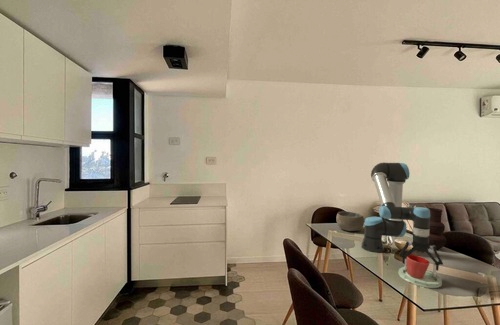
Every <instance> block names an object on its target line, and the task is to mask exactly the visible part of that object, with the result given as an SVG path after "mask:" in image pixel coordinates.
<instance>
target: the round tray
mask: <svg viewBox="0 0 500 325" xmlns="http://www.w3.org/2000/svg"><path fill="white" fill-rule="evenodd" d="M404 267H405V266H402V267H400V268H398V276H399V277H400V278H401V279H402V280H403V281H405V282H406V283H407V282H408V283H409V282H412V283H414V284H415V285H414V284H413V285H414V286H418V287H422V288H425V289H427V288H428V289H437V288H441V287H442V285H443V281H442V278H441V277H440V276H439V275H437V274H436V277H434V275H433V272H432V271H429V270H428V269H427V270H426V273H425V275H424V277H423V278H422V279H419V278H415V277H412V276H410V275H409V274H408V273H407V266H406V270H405V269H404Z"/></svg>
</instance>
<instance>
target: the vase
mask: <svg viewBox="0 0 500 325" xmlns="http://www.w3.org/2000/svg"><path fill="white" fill-rule="evenodd" d="M427 208H428V207H427ZM428 209H429V210H430V227H429V236H428V237H429V246H433V245H435V247H436V251H440V250H441V249H442V248H444V247H445V246H446V244H447V243H448V240H447V239H448V238H447V237H446V235H444V232H445V231H446V230H445V229H446V226H445V224H444V223H443V222H442V215H443V209H441V208H434V207H429V208H428ZM429 249H430V250H432V249H431V248H429ZM439 249H440V250H439Z"/></svg>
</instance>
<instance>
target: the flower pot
mask: <svg viewBox="0 0 500 325" xmlns="http://www.w3.org/2000/svg"><path fill="white" fill-rule="evenodd" d="M406 259H407V263H406V267H407V273H408V274H409V275H410V276H412V277H415V278H419V279H422V278H423V277H424V275H425V273H426V270H427V271H428V268H429V266H430V261H429V260H428V259H426V258H424V257H422V256H419V255H415V254H412V253H411V254H410V255H409V256H407V257H406Z"/></svg>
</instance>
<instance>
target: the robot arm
mask: <svg viewBox="0 0 500 325" xmlns="http://www.w3.org/2000/svg"><path fill="white" fill-rule="evenodd" d="M370 176H371V180H372V182H374V186H375V188H376V192H377V194H378V199H379V201H380V206H379V209H378V212H379V213H378V214H379V216H369V217H366V218H364V225H363V226H364V231H363V232H364V236H363V239H362V242H361V244H360V245H361V248H362V249H363V250H365V251H368V252H371V253H383V252H384V251H385V246H384V242H383V240H382V238H383V237H395V238H403V237H404V236H405V235H406V233H407V223H406V221H412V222H413V223H412V224H413V226H412V242H410V241H409V240H405V245H404V246H403V248H402V249H401V250H400V252H399V253H398V256H399V258H400V257H401V258H402V264H403V265H404V266H403V267H404V269H405V270H406V267H407V259H406V257H407V256H409V255H410V254H411V255H412V254H413V253H414V252H417V253H418V252H420V253H422V254H423V253H426V254H427V255H428V256H429V257H430V259H431V260H432V261H433V272H432V273H433V275H434V277H436V275H437V272H438V271H439V266H440V265H442V266H443V265H444V263H443V261H442V259H441V257H440V256H439V253H438V250H436V247H435V245H433V246H429V237H428V236H429V227H430V210H429V209H428V207H421V206H405V207H404V206H402V203H403V186H404V184H405V183H406V180H409V178H410V169H409V166H408V165H407V164H406V163H403V162H379V163H377V164H376V165H374V167H372V170H371V173H370ZM410 246H412V247H411V248H410V249H409V250H408V251H407V249H408V247H410ZM430 248H431V249H430ZM429 249H430V250H431V251H433V253H434V255H435V257H436V258H435V257H434V255H433V254H432V253H431V252H430V251H429ZM406 251H407V252H406Z"/></svg>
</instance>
